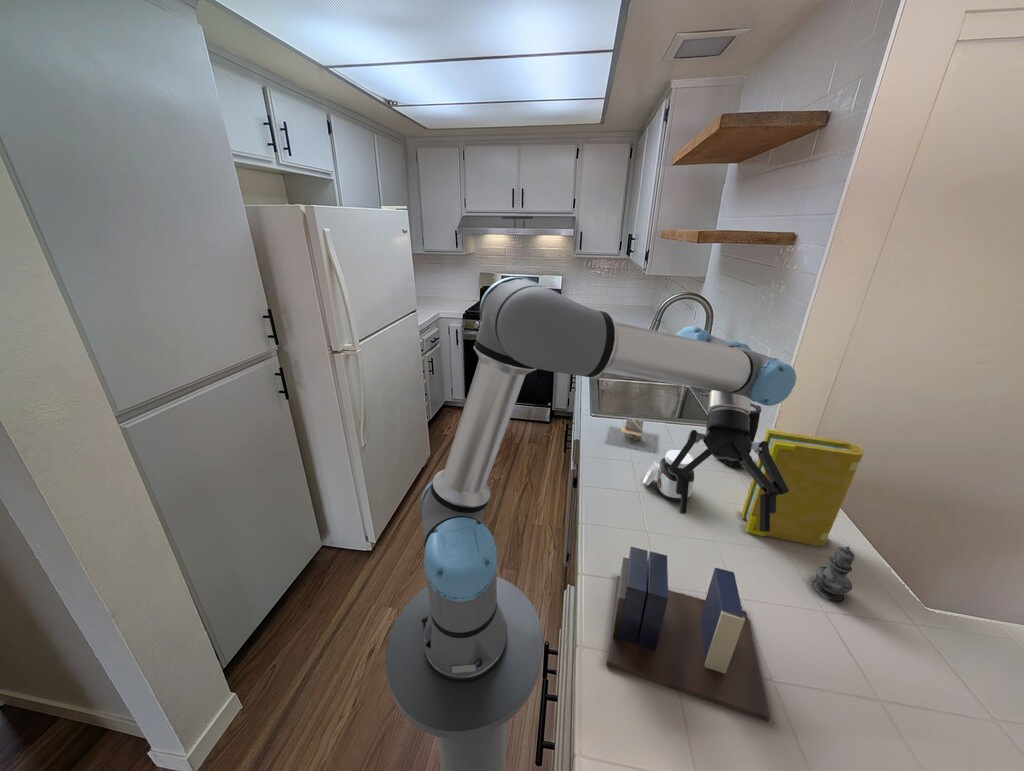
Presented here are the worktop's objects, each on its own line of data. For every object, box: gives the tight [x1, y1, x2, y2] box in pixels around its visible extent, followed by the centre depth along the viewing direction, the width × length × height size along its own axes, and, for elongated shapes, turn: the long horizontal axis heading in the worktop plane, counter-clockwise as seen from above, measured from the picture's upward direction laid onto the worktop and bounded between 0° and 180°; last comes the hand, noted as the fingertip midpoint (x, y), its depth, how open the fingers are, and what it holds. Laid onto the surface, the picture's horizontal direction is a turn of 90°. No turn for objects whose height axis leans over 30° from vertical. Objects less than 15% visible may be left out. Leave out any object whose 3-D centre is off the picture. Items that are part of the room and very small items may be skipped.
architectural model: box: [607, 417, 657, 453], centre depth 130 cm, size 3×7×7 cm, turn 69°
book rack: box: [605, 546, 771, 722], centre depth 66 cm, size 24×18×14 cm
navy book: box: [700, 567, 745, 674], centre depth 64 cm, size 3×9×13 cm, turn 161°
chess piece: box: [811, 546, 856, 604], centre depth 76 cm, size 6×6×12 cm
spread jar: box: [642, 449, 695, 501], centre depth 105 cm, size 12×11×12 cm
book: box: [740, 428, 865, 547], centre depth 88 cm, size 17×7×25 cm, turn 72°
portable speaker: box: [717, 402, 762, 469], centre depth 116 cm, size 9×9×20 cm
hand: (722, 522), depth 71 cm, fingers open, 13 cm apart
